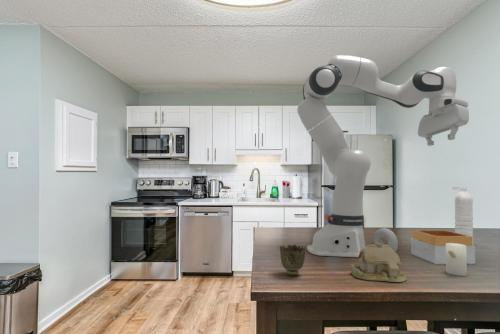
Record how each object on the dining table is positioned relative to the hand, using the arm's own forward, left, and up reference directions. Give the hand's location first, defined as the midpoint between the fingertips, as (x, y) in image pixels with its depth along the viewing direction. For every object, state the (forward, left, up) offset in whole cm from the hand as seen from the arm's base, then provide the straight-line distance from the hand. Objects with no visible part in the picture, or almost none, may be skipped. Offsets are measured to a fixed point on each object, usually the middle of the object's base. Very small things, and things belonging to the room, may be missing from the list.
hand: (440, 142), depth 119 cm
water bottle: (+22, +19, -42) cm, 51 cm away
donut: (-21, +1, -42) cm, 47 cm away
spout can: (-11, -23, -42) cm, 49 cm away
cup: (-60, -22, -42) cm, 77 cm away
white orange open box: (-2, -4, -42) cm, 42 cm away
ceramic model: (-36, -24, -42) cm, 60 cm away
